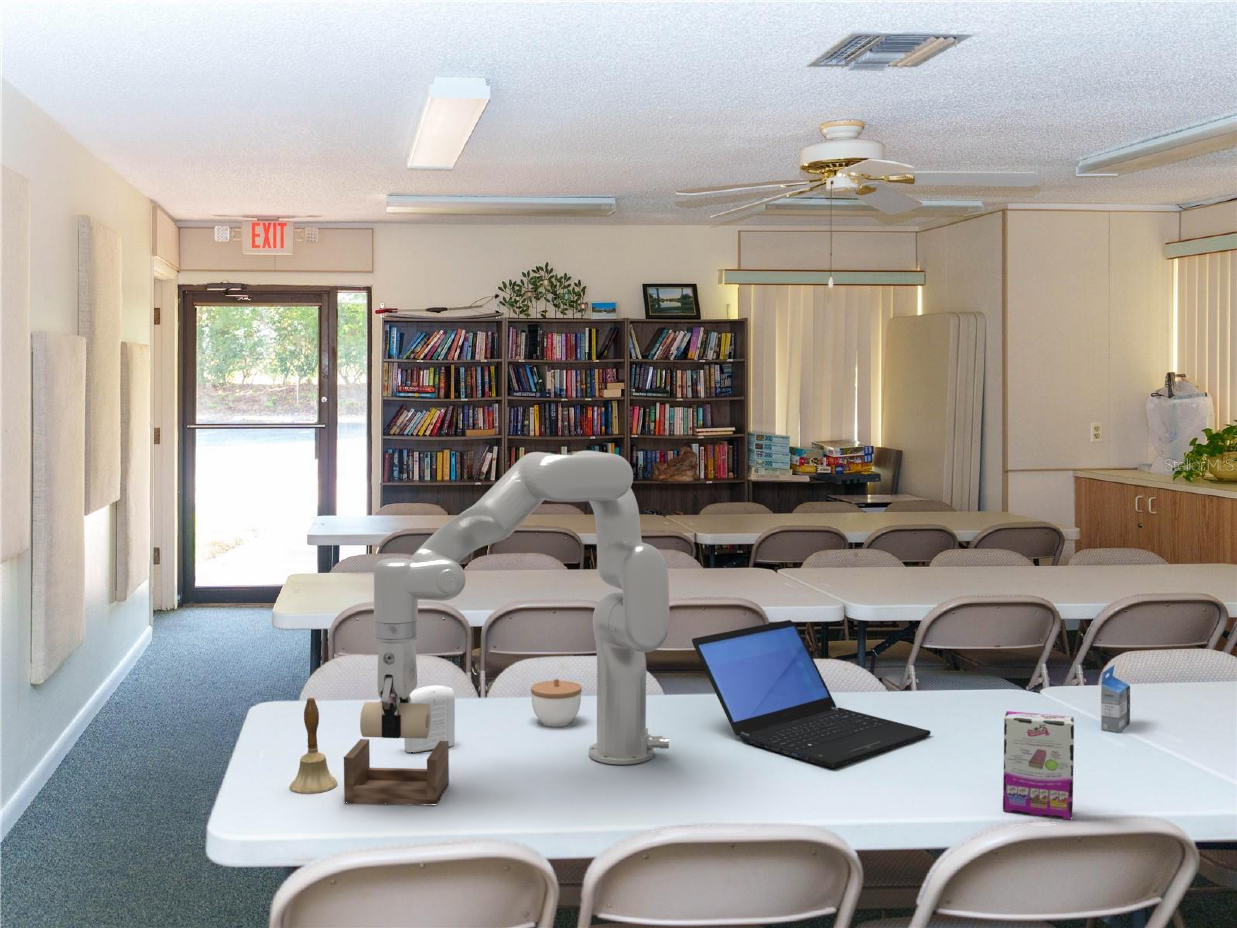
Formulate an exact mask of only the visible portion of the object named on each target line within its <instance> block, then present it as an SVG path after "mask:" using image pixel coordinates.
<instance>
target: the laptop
mask: <svg viewBox="0 0 1237 928" xmlns="http://www.w3.org/2000/svg"><path fill="white" fill-rule="evenodd" d="M691 642H692V645H693V647H694V650H695V652H696V653H697V655H698V658H699V660H700V662H701V664H702V667H703V669H704V671H705V673H706V675H707V677H708V679H709V682H710V683H711V685H712V688H713V691H714V692H715V694H716V697H717V699H718V701H719V703H720V705H721V708H722V709H723V712H724V714H725V716H726V719H727V720H728V722H729V725H730V726H731V729H732V731H733V733H734V736H735V737H739V740H740V741H742V742H745V743H747V744H750V745H753V746H757V747H760V748H764V749H765V750H766V749H767V750H769V751H773V752H776V753H779V754H783V755H784V756H785V755H786V756H789V757H793V758H797V759H799V760H803V761H805V762H809V763H812V764H816V765H819V766H822V767H826V768H830V769H831V770H832V769H835V768H838V767H841V766H844V765H846V764H848V763H851V762H854V761H858V760H861V759H864V758H866V757H870V756H873V755H875V754H879V753H882V752H885V751H888V750H890V749H893V748H897V747H899V746H903V745H906V744H909V743H911V742H914V741H917V740H920V739H924V738H926V737H928V736H930V735H931V732H932V731H931V730H929V729H924V728H920V727H917V726H914V725H909V724H905V723H901V722H897V721H893V720H890V719H886V718H883V717H879V716H874V715H870V714H866V713H862V712H859V711H854V710H851V709H847V708H844V707H840V706H839V707H837V705H836V703H835V701H834V698H833V696H832V695H831V692H830V690H829V688H828V686H827V685H826V683H825V681H824V678H823V677H822V674H821V672H820V670H819V669H818V666H817V664H816V662H815V660H814V659H813V656H812V654H811V652H810V650H809V648H808V647H807V646H808V645H807V644H806V642H805V640H804V638H803V636H802V635H801V632H800V631H799V629H798V627H797V625H796V624H795V623H794V622H793V621H792V619H788V620H781V621H775V622H772V623H770V622H769V623H765V624H759V625H756V626H755V625H754V626H749V627H746V628H745V627H743V628H739V629H736V630H735V629H733V630H730V631H724V632H719V633H715V634H714V633H713V634H708V635H704V636H698V637H693V638H692V640H691Z"/></svg>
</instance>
